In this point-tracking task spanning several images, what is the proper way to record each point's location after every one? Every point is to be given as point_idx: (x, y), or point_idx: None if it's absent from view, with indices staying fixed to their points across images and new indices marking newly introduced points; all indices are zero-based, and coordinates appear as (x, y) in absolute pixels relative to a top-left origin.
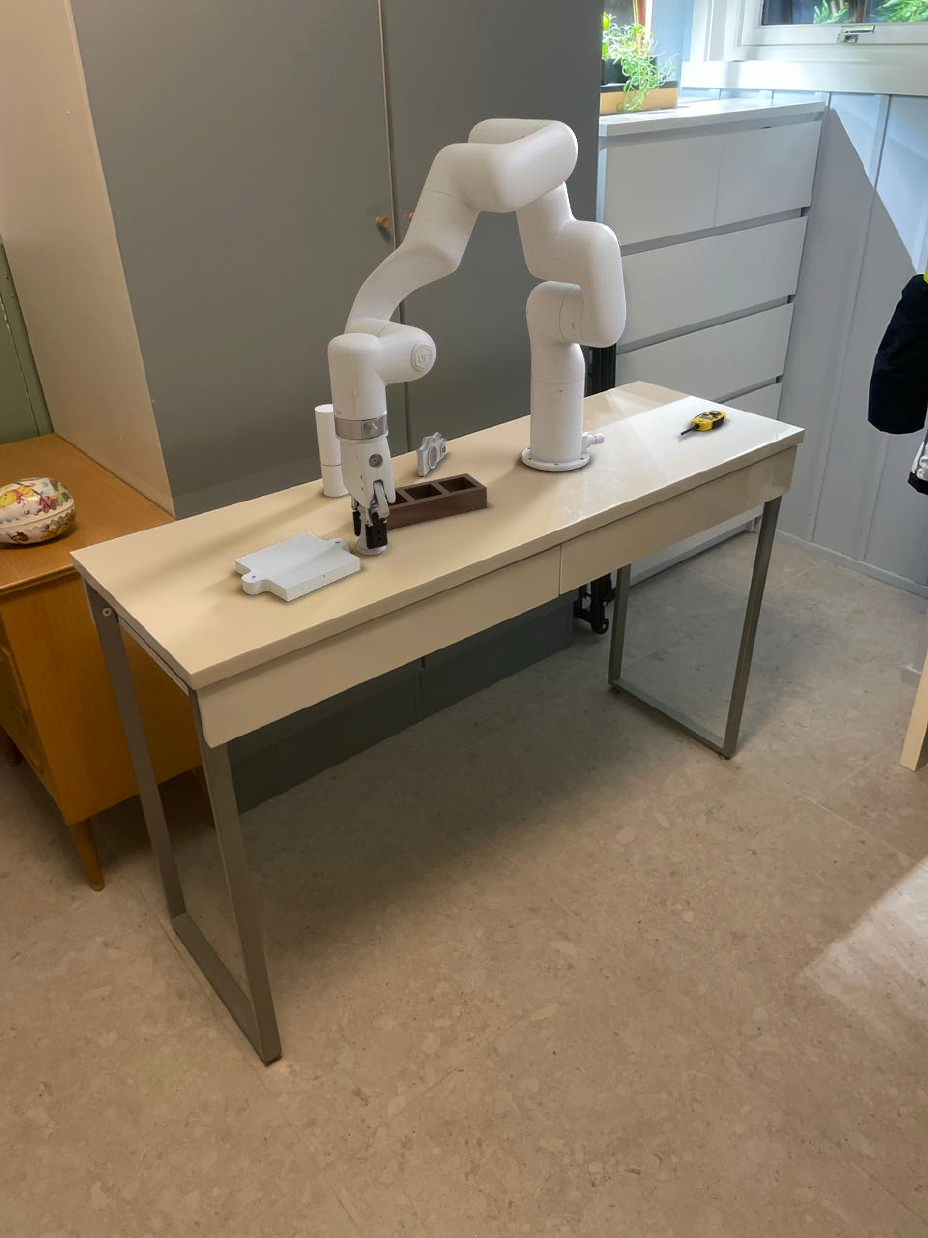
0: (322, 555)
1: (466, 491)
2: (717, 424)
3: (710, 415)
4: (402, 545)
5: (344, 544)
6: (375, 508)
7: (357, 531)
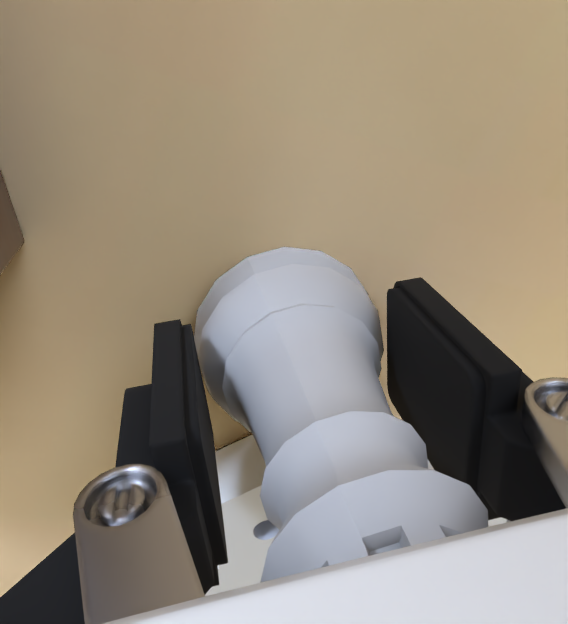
0: None
1: None
2: None
3: None
4: (296, 121)
5: None
6: (477, 519)
7: (214, 447)
